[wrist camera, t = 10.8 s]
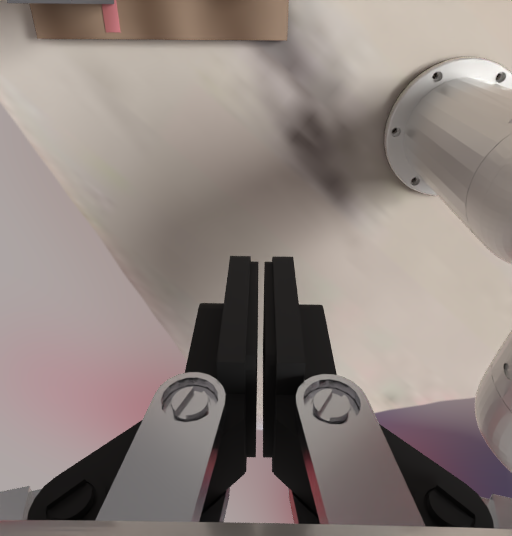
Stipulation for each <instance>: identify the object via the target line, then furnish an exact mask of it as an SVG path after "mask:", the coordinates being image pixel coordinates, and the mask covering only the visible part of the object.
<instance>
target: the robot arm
mask: <svg viewBox="0 0 512 536" xmlns="http://www.w3.org/2000/svg"><path fill="white" fill-rule="evenodd" d="M434 73H436V74H437V76H436V77H435V78H434V79H433V78H432V76H433V74H434ZM497 74H499V76H498V78H497V79H496V76H497ZM394 128H396V131H395V132H392V130H393V129H394ZM384 146H385V151H386V157H387V159H388V162H389V164H390V167H391V168H392V170H393V171H394V173H395V174H396V176H397V177H398V178H399V179H400V180H401V181H402V182H403V183H404V184H405V185H407V186H408V187H409V188H411V189H413V190H415V191H418V192H420V193H422V194H427V195H432V196H439V197H440V198H441V200H442V201H443V202H444V203H445V204H446V205H447V206H448V207H449V208H450V209H451V210H452V211H453V213H454V214H455V215H456V216H457V217H458V218H459V219H460V220H461V221H462V222H463V223H464V224H465V226H466V227H467V228H468V229H469V230H470V231H471V232H472V233H473V234H474V235H475V236H476V237H477V239H478V240H479V241H481V243H482V244H483V245H484V246H485V247H486V248H487V249H488V250H490V251H491V252H492V253H493V254H494V255H496V256H497V257H499V258H500V259H502V260H504V261H506V262H508V263H510V264H512V73H511V71H510V70H508V69H507V68H505V67H504V66H502V65H501V64H499V63H497V62H494V61H491V60H488V59H484V58H479V57H459V58H454V59H449V60H446V61H444V62H441V63H439V64H436V65H434V66H432V67H431V68H429V69H427V70H426V71H424V72H422V73H421V74H420V75H419V76H417V77H416V78H415V79H414V80H413V81H412V82H410V83H409V85H408V86H407V87H406V88H405V89H404V91H403V92H402V93H401V94H400V96H399V97H398V99H397V101H396V102H395V104H394V105H393V107H392V110H391V112H390V115H389V117H388V120H387V124H386V129H385V142H384ZM413 178H415V179H414V180H412V179H413ZM411 180H412V181H411ZM257 341H258V262H251V257H250V256H230V262H229V270H228V277H227V285H226V292H225V300H224V304H216V303H201V304H200V305H199V309H198V314H197V318H196V323H195V328H194V332H193V337H192V342H191V346H190V351H189V356H188V360H187V365H186V370H185V373H183V374H179V375H176V376H174V377H172V378H170V379H168V380H167V381H166V382H165V383H163V384H162V385H161V386H160V387H159V389H158V390H157V392H156V393H155V395H154V397H153V399H152V402H151V404H150V406H149V408H148V410H147V412H146V414H145V416H144V418H143V420H142V421H140V422H139V423H137V424H136V425H134V426H133V427H131V428H130V429H128V430H127V431H125V432H123V433H122V434H120V435H119V436H117V437H116V438H114V439H113V440H111V441H110V442H108V443H107V444H105V445H104V446H102V447H101V448H99V449H98V450H96V451H94V452H93V453H91V454H90V455H88V456H87V457H85V458H84V459H82V460H81V461H79V462H78V463H76V464H75V465H73V466H72V467H70V468H69V469H67V470H66V471H64V472H62V473H61V474H59V475H58V476H57V477H55V478H54V479H53V480H51V481H50V482H49V483H48V484H47V485H45V486H44V487H43V488H42V489H40V490H35V491H31V489H30V486H27V487H22V488H17V489H12V490H7V491H2V492H0V536H512V498H508V497H503V496H499V495H495V494H492V496H491V498H490V499H487V498H483V497H480V496H479V495H478V494H477V493H476V492H475V491H473V490H472V489H471V488H470V487H469V486H468V485H467V484H465V483H464V482H462V481H461V480H459V479H458V478H457V477H455V476H454V475H452V474H451V473H449V472H448V471H446V470H445V469H444V468H442V467H441V466H439V465H438V464H436V463H435V462H433V461H432V460H430V459H429V458H428V457H426V456H424V455H423V454H422V453H420V452H419V451H417V450H416V449H415V448H413V447H411V446H410V445H409V444H407V443H406V442H404V441H403V440H401V439H400V438H398V437H397V436H396V435H394V434H393V433H391V432H390V431H389V430H387V429H385V428H384V427H383V426H381V425H380V424H379V423H378V421H377V419H376V416H375V414H374V412H373V410H372V408H371V405H370V403H369V401H368V399H367V397H366V395H365V394H364V392H363V391H362V389H361V388H360V387H359V386H357V385H356V384H355V383H354V382H352V381H350V380H348V379H346V378H345V377H342V376H338V375H337V374H336V369H335V364H334V359H333V354H332V349H331V344H330V339H329V334H328V329H327V324H326V319H325V314H324V309H323V306H322V305H299V303H298V295H297V286H296V278H295V270H294V261H293V257H273V259H272V262H265V273H264V325H263V457H272V472H274V475H276V476H277V477H278V478H279V479H280V480H281V481H282V482H283V483H284V484H285V485H286V486H287V487H288V488H289V501H290V506H291V511H292V515H293V520H294V524H280V523H224V518H225V514H226V509H227V505H228V500H229V493H230V486H231V485H232V484H233V483H235V482H236V481H237V480H238V479H239V478H240V477H241V476H242V475H244V474H245V472H246V459H247V457H256V403H257ZM475 415H476V420H477V424H478V427H479V429H480V432H481V434H482V436H483V437H484V439H485V441H486V443H487V444H488V446H489V448H490V449H491V450H492V452H493V453H494V454H495V455H496V457H497V458H498V459H499V460H500V461H501V462H502V463H503V465H504V466H505V467H506V468H507V469H508V470H509V471H510V472H511V473H512V330H511V332H510V334H509V335H508V337H507V338H506V340H505V341H504V343H503V345H502V346H501V348H500V349H499V351H498V353H497V354H496V356H495V357H494V359H493V360H492V362H491V364H490V365H489V367H488V369H487V370H486V372H485V374H484V376H483V378H482V380H481V382H480V384H479V387H478V390H477V393H476V398H475Z"/></svg>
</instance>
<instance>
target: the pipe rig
mask: <svg viewBox="0 0 512 536" xmlns="http://www.w3.org/2000/svg"><path fill="white" fill-rule="evenodd" d="M288 3H289V0H114V4H41V3H29V4H30V8H31V12H32V17H33V21H34V25H35V30H36V34H37V38H38V39H164V40H287V29H288Z"/></svg>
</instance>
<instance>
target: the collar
mask: <svg viewBox="0 0 512 536" xmlns="http://www.w3.org/2000/svg"><path fill="white" fill-rule="evenodd" d="M7 3H41V4H114V0H7Z"/></svg>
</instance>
